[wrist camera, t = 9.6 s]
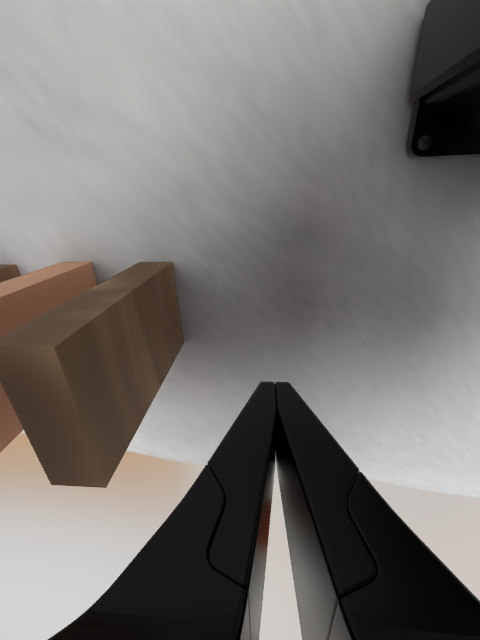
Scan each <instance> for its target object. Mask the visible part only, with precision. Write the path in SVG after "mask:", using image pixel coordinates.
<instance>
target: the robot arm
mask: <svg viewBox="0 0 480 640" xmlns="http://www.w3.org/2000/svg"><path fill="white" fill-rule="evenodd" d="M411 95H412V97H413V99H414V100H415V103H414V109H413V114H412V119H411V125H410V130H409V135H408V141H407V153H408V155H409V156H410V157H412V158H435V157H455V156H476V155H480V0H431V1H430V2H429V4H428V5H427V7H426V11H425V16H424V22H423V27H422V33H421V38H420V44H419V49H418V55H417V60H416V66H415V71H414V77H413V83H412V88H411ZM421 137H422V138H424V139H425V140H426V145H425V147H424V148H423V149H422V150H420V149H419V148H418V141H419V139H420V138H421ZM275 452H276V464H277V472H278V478H279V485H280V492H281V499H282V505H283V512H284V518H285V525H286V532H287V539H288V545H289V552H290V559H291V565H292V572H293V579H294V586H295V592H296V599H297V605H298V612H299V619H300V626H301V633H302V639H303V640H480V601H479V600H478V599H477V598H476V597H475V596H474V595H473V594H472V593H471V591H469V590H468V588H467V587H466V586H465V585H464V584H463V583H462V582H460V580H459V579H458V578H457V577H456V576H455V575H454V574H453V573H452V572H451V571H450V570H449V569H448V568H447V566H445V564H444V563H443V562H442V561H441V560H440V559H439V558H438V557H437V556H436V555H435V554H434V553H433V552H432V551H431V550H430V549H429V548H428V547H427V546H426V545H425V544H424V543H423V542H422V541H421V539H419V537H418V536H417V535H416V534H415V533H414V532H413V531H412V530H411V529H410V528H409V527H408V526H407V524H405V522H404V521H403V520H402V519H401V518H400V517H399V516H398V515H397V514H396V513H395V511H394V510H392V508H391V507H390V506H389V505H388V504H387V502H386V501H385V500H384V499H383V498H382V497H381V495H380V494H379V493H378V492H377V491H376V489H375V488H374V487H373V486H372V485H371V483H370V482H369V481H368V480H367V478H366V477H365V476H364V475H363V473H362V472H359V469H358V467H357V466H356V465H355V464H354V462H353V461H352V460H351V459H350V457H349V456H348V455H347V454H346V452H345V451H344V450H343V449H342V447H341V446H340V445H339V444H338V443H337V441H336V440H335V439H334V438H333V436H332V435H331V434H330V433H329V431H328V430H327V429H326V428H325V426H324V425H323V424H322V423H321V421H320V420H319V419H318V418H317V417H316V415H315V414H314V413H313V412H312V410H311V409H310V408H309V407H308V405H307V404H306V403H305V402H304V400H303V399H302V398H301V397H300V395H299V394H298V393H297V392H296V390H295V389H294V388H293V387H292V386H291V384H290V383H288V382H276V383H275V384H274V382H260V384H259V385H258V387H257V388H256V390H255V391H254V393H253V394H252V396H251V397H250V399H249V400H248V402H247V403H246V405H245V406H244V408H243V410H242V411H241V413H240V414H239V416H238V417H237V419H236V420H235V422H234V423H233V425H232V426H231V428H230V429H229V431H228V432H227V434H226V435H225V437H224V439H223V440H222V442H221V443H220V445H219V446H218V448H217V449H216V451H215V452H214V454H213V455H212V457H211V458H210V460H209V461H208V465H206V466H205V467H204V469H203V470H202V472H201V473H200V475H199V477H198V478H197V479H196V481H195V482H194V484H193V485H192V487H191V488H190V489H189V491H188V492H187V494H186V495H185V497H184V498H183V499H182V500H181V502H180V503H179V504H178V505H177V507H176V508H175V509H174V511H173V512H172V513H171V514H170V516H169V517H168V518H167V519H166V521H165V522H164V523H163V524H162V526H161V527H160V528H159V529H158V530H157V531H156V533H155V534H154V535H153V536H152V538H151V539H150V540H149V541H148V542H147V544H146V545H145V546H144V547H143V548H142V549H141V551H140V552H139V553H138V554H137V556H136V557H135V558H134V559H133V561H132V562H131V563H130V564H129V565H128V566H127V568H126V569H125V570H124V571H123V573H122V574H121V575H120V576H119V577H118V578H117V580H116V581H115V582H114V583H113V584H112V585H111V587H110V588H109V589H108V590H107V591H106V592H105V593H104V594H103V595H102V596H101V597H100V598H99V599H98V600H97V601H96V602H95V603H94V604H93V605H92V606H91V607H90V608H89V609H88V610H87V611H86V612H84V613H83V614H82V615H81V616H80V617H78V618H77V619H76V620H75V621H73V622H72V623H71V624H69V625H68V626H67V627H65V628H64V629H62V630H61V631H59V632H58V633H57V634H55V635H54V636H52V637H51V638H50V639H48V640H259V630H260V621H261V610H262V600H263V589H264V578H265V568H266V556H267V546H268V535H269V525H270V514H271V503H272V491H273V482H274V471H275Z"/></svg>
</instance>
